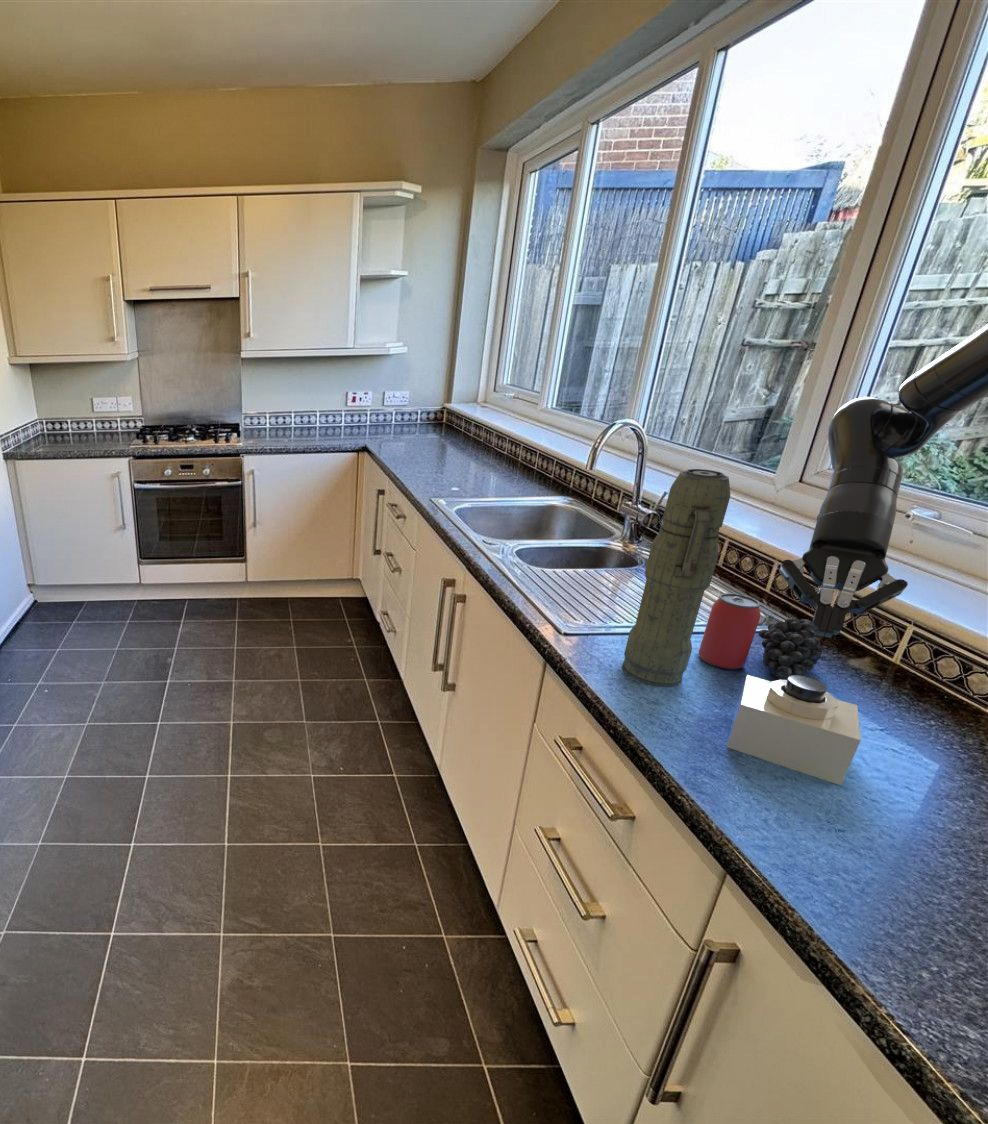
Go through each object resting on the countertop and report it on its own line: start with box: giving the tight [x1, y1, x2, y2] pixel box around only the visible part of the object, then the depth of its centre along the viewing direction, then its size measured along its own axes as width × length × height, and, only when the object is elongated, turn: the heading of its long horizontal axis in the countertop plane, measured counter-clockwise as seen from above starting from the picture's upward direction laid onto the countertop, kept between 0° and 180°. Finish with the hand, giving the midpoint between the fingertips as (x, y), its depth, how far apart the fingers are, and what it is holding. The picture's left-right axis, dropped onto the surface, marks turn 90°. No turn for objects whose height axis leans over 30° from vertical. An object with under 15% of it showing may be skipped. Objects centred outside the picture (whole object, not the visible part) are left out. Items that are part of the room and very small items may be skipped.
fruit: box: [758, 617, 823, 680], centre depth 104 cm, size 9×8×15 cm
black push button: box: [783, 675, 828, 703], centre depth 83 cm, size 4×4×2 cm
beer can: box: [698, 592, 761, 670], centre depth 106 cm, size 7×7×12 cm
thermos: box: [621, 468, 731, 688], centre depth 99 cm, size 9×12×35 cm
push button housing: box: [726, 674, 862, 786], centre depth 85 cm, size 12×10×9 cm
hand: (825, 634), depth 81 cm, fingers closed
